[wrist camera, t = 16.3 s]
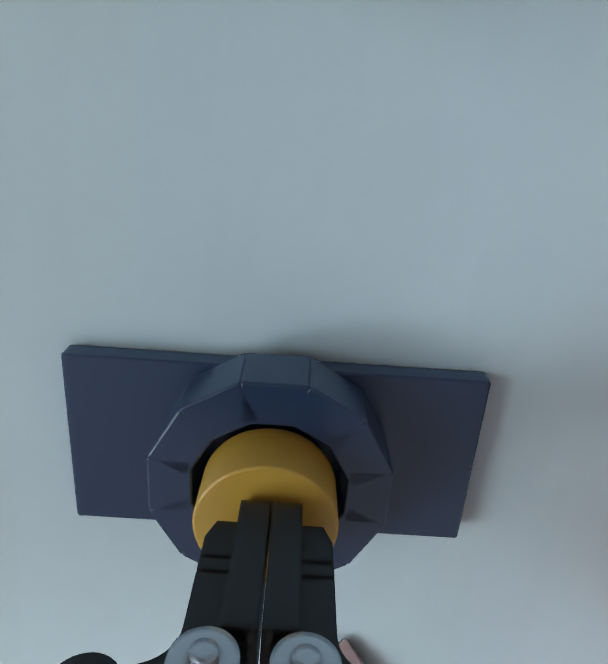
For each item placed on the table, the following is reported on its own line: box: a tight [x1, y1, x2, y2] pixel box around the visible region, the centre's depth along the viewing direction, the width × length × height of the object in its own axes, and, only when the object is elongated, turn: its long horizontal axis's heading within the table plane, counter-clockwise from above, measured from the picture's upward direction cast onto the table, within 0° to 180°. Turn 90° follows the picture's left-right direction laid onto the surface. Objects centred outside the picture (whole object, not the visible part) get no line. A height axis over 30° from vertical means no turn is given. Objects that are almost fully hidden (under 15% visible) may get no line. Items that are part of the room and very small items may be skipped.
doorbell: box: [61, 345, 491, 569], centre depth 16 cm, size 12×6×2 cm, turn 86°
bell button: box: [192, 428, 339, 576], centre depth 15 cm, size 4×4×2 cm
